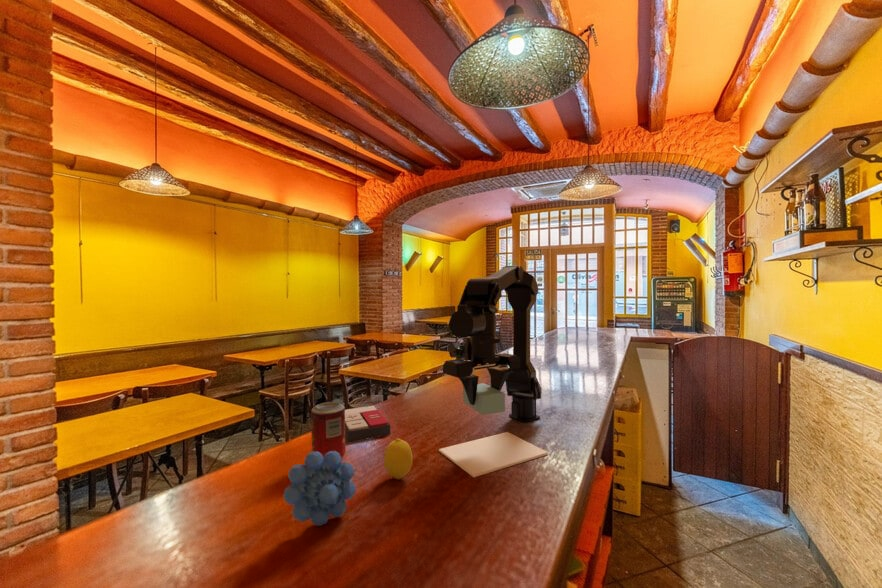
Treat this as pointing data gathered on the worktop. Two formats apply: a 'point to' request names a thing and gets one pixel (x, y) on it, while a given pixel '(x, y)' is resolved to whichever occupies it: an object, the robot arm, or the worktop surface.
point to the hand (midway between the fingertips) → (483, 402)
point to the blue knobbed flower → (320, 487)
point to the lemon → (398, 458)
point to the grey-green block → (487, 399)
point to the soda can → (328, 428)
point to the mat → (491, 453)
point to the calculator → (365, 423)
